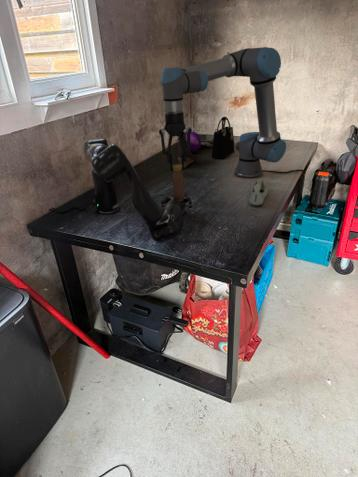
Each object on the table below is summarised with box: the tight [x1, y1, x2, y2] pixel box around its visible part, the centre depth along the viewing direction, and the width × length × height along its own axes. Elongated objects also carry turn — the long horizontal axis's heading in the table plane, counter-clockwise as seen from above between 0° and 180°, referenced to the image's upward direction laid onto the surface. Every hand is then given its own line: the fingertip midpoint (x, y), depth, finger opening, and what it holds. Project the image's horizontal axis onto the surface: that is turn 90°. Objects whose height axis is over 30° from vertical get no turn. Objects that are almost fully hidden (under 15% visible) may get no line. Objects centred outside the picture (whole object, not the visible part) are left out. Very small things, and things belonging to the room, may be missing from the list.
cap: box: [172, 163, 183, 172], centre depth 140 cm, size 4×4×2 cm
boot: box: [176, 131, 195, 169], centre depth 209 cm, size 9×24×20 cm, turn 168°
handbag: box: [211, 116, 236, 160], centre depth 219 cm, size 21×9×25 cm, turn 148°
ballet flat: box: [249, 179, 269, 207], centre depth 158 cm, size 8×24×8 cm, turn 163°
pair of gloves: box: [199, 134, 214, 149], centre depth 251 cm, size 30×26×5 cm
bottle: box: [172, 170, 186, 215], centre depth 145 cm, size 5×5×21 cm
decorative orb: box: [184, 130, 202, 154], centre depth 230 cm, size 15×15×15 cm
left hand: (179, 195), depth 150 cm, fingers closed on bottle, 4 cm apart
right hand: (177, 169), depth 141 cm, fingers closed on cap, 4 cm apart
